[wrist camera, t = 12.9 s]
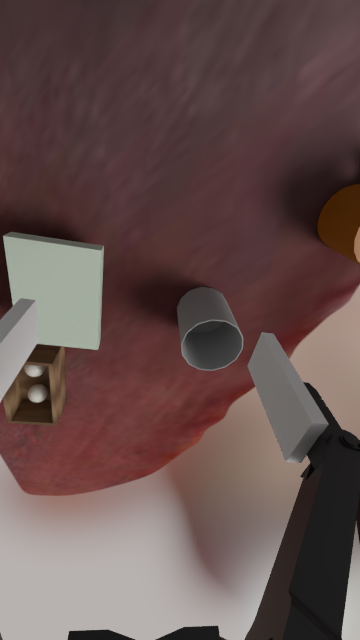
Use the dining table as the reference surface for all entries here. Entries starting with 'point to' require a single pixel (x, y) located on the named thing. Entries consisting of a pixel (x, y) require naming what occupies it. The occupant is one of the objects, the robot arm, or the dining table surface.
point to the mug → (342, 222)
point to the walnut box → (52, 378)
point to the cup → (208, 330)
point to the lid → (58, 286)
